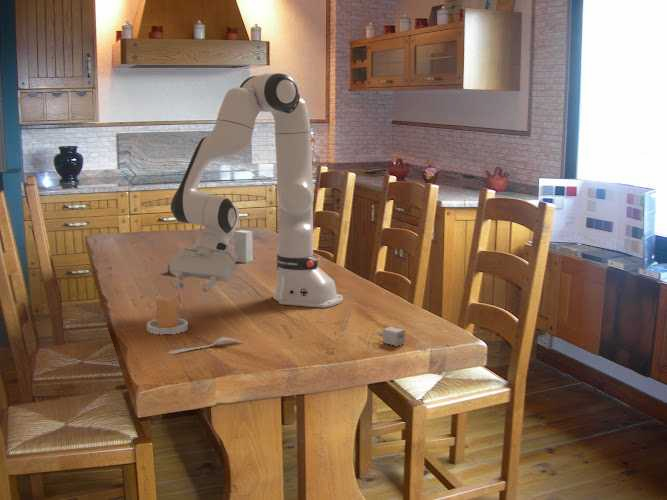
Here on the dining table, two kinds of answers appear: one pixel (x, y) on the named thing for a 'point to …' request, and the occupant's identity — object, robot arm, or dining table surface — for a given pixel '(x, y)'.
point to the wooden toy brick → (167, 312)
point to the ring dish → (180, 328)
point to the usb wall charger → (393, 336)
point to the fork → (204, 346)
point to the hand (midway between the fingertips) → (191, 289)
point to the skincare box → (243, 246)
